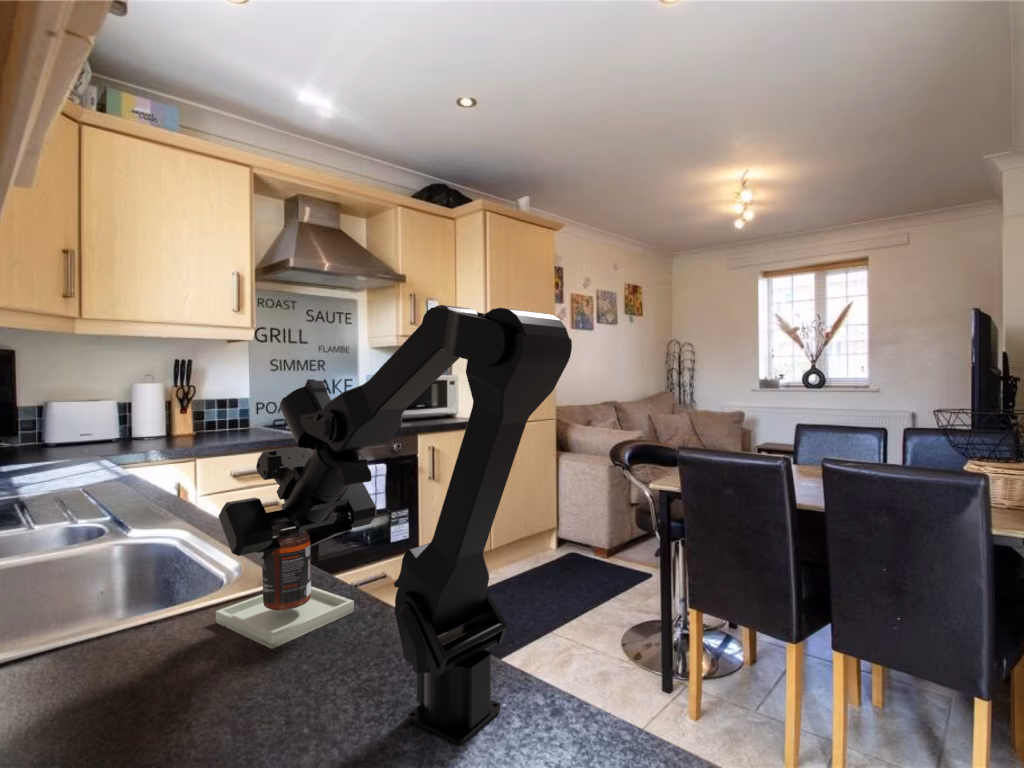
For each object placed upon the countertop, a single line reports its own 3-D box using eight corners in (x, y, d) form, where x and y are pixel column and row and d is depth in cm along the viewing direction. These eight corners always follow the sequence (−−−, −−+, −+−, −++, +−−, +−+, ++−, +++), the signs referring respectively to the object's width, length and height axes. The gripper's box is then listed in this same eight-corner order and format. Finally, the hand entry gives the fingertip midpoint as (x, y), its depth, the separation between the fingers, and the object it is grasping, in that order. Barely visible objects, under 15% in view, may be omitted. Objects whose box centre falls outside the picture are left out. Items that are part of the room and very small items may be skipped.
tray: (354, 611, 76) (353, 600, 76) (272, 648, 66) (271, 636, 66) (298, 591, 83) (297, 581, 83) (215, 622, 72) (215, 611, 72)
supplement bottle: (321, 598, 75) (320, 515, 75) (285, 616, 70) (283, 526, 70) (289, 591, 78) (288, 510, 78) (252, 607, 73) (251, 520, 72)
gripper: (363, 422, 78) (321, 491, 85) (224, 434, 64) (188, 515, 71) (399, 486, 73) (352, 553, 80) (257, 513, 59) (215, 591, 66)
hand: (281, 550), depth 75 cm, fingers closed on supplement bottle, 6 cm apart
